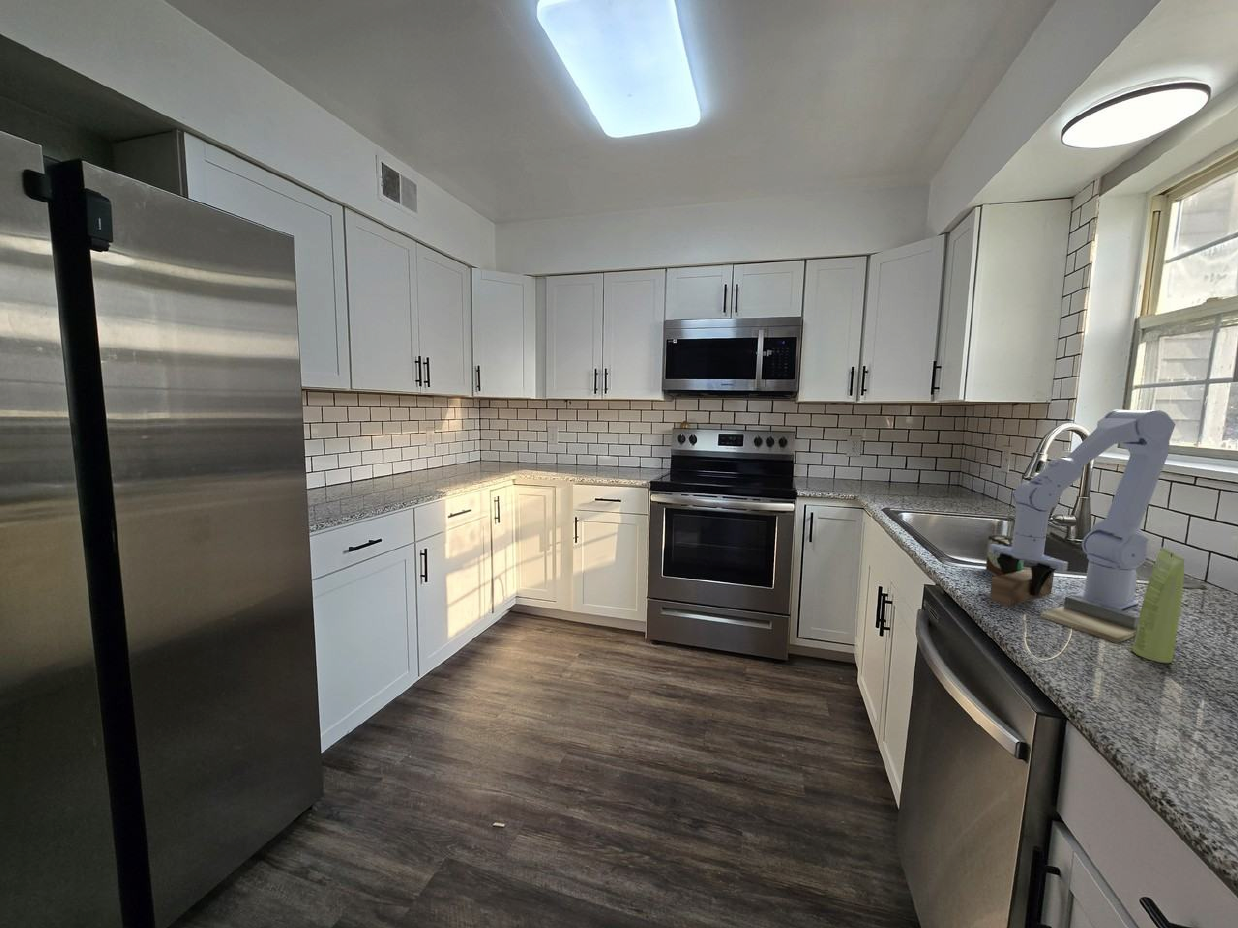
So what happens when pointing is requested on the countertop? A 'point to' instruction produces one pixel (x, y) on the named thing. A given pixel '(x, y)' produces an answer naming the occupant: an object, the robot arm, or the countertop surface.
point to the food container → (992, 557)
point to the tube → (1160, 609)
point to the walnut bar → (1017, 588)
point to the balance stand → (1094, 619)
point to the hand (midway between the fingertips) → (1021, 590)
